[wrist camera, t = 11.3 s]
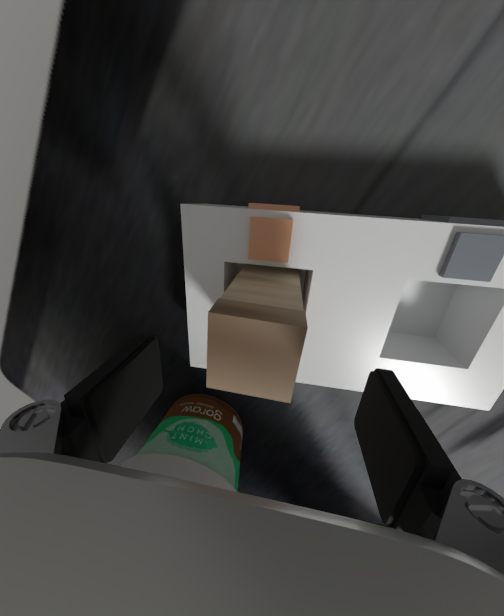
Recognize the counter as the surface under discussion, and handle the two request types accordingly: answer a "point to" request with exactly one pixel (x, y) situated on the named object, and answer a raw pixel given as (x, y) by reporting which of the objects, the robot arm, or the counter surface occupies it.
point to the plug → (257, 334)
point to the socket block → (366, 293)
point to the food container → (195, 443)
